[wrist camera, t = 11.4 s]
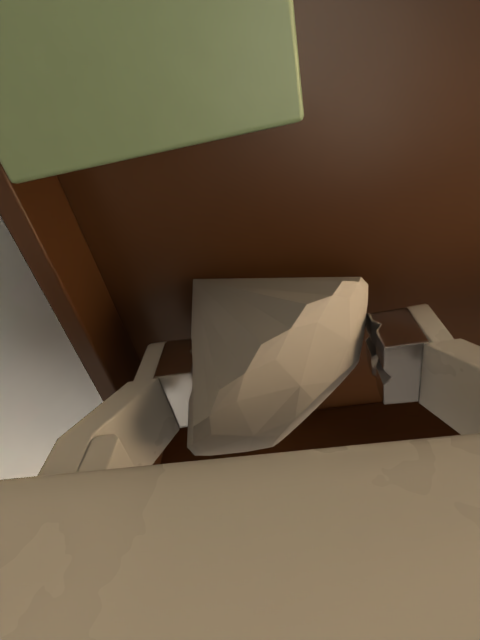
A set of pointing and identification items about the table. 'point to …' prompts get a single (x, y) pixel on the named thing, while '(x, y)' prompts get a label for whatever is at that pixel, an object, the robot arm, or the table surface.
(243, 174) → the tray
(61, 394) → the table surface
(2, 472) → the table surface
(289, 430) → the gemstone
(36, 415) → the table surface
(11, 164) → the sage block
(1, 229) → the table surface
